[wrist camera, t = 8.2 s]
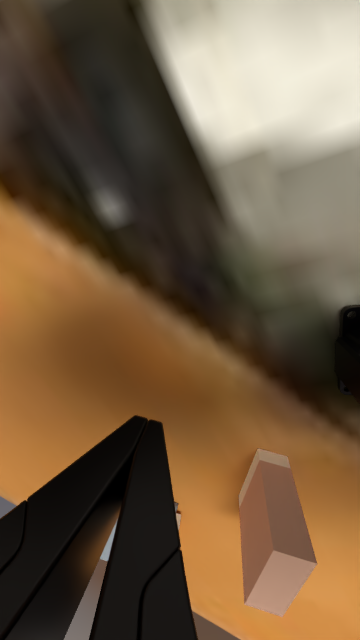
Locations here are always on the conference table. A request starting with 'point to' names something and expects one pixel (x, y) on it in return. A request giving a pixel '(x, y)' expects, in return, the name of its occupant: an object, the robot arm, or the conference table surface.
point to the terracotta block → (273, 535)
